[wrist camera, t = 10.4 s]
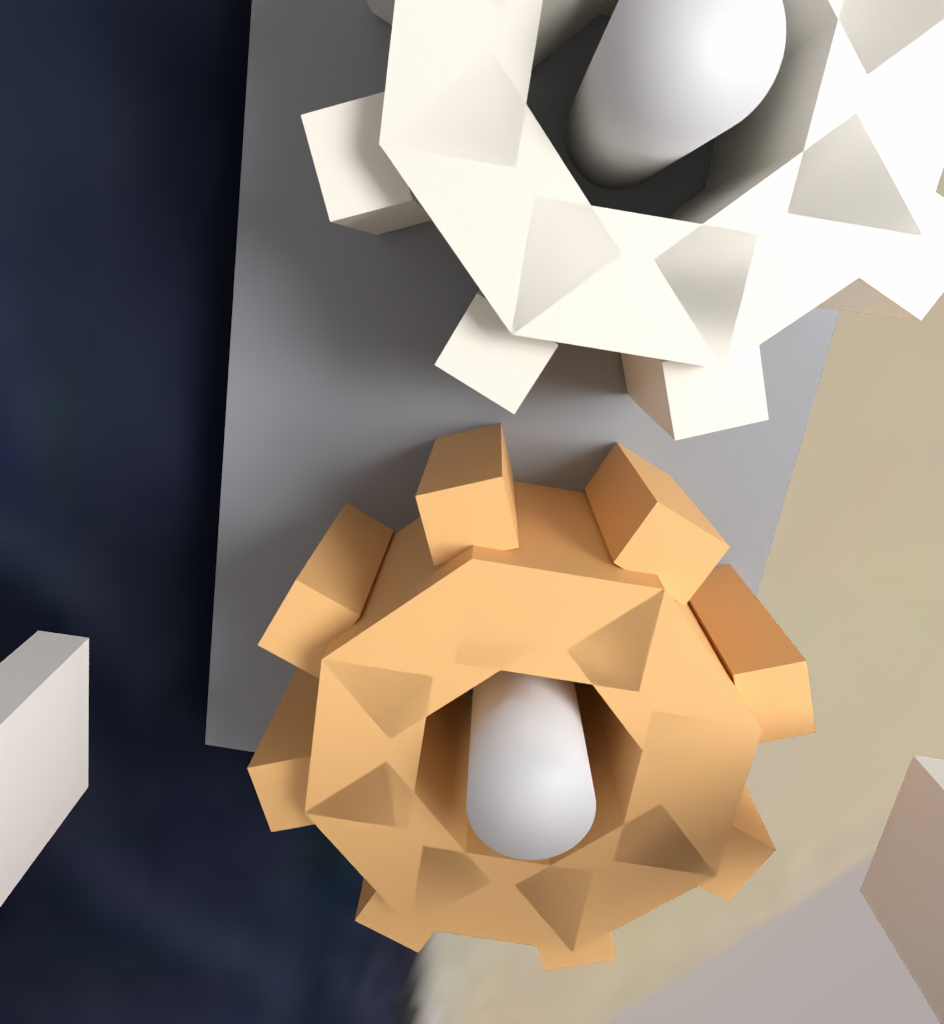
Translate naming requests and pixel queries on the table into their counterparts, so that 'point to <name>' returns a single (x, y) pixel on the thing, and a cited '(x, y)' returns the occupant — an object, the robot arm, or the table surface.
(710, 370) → the gear
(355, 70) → the gear board
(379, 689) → the gear
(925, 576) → the table surface
